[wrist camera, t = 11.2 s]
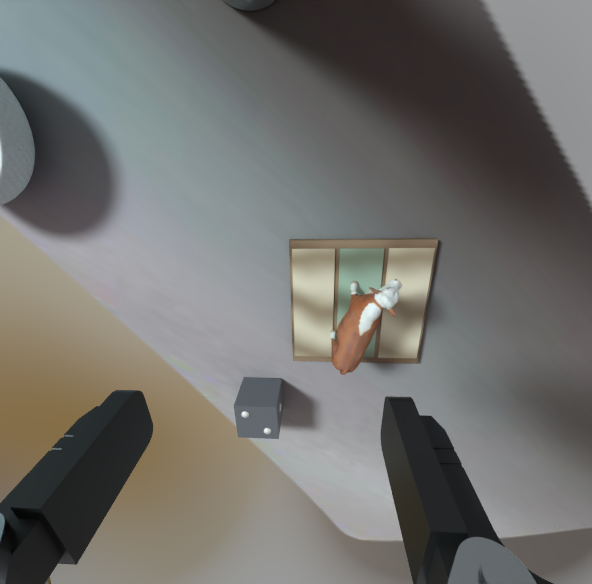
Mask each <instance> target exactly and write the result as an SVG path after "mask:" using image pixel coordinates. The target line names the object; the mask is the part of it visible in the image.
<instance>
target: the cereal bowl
mask: <svg viewBox="0 0 592 584" xmlns="http://www.w3.org/2000/svg"><path fill="white" fill-rule="evenodd" d="M34 160H35V146H34V140H33V136H32V132H31V128H30V126H29V123H28V121H27V117H26V115H25V113H24V111H23V109H22V107H21V105H20V103H19V102H18V100H17V98H16V97H15V96H14V94H13V92H12V91H11V90H10V88H9V87H8V86H7V84H6V83H5V82H4V81H3V80H2V79H1V78H0V206H2V205H3V204H6V203H8V202H10V201H11V200H13V199H14V198H15V197H17V196H18V195H19V194H20V193H21V192H22V191H23V190H24V188H25V187H26V186H27V184H28V182H29V181H30V178H31V176H32V173H33V170H34V169H33V167H34V163H35V161H34Z"/></svg>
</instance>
